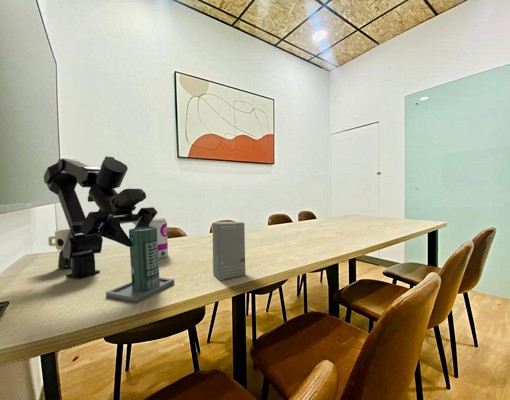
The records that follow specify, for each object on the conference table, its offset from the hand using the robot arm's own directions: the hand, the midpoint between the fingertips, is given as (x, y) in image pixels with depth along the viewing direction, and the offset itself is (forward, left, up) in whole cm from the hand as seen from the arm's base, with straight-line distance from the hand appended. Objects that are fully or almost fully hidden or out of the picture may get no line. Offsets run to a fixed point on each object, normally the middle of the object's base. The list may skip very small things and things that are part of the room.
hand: (141, 242), depth 59 cm
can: (+1, 0, -12) cm, 12 cm away
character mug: (-42, +7, -12) cm, 44 cm away
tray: (0, 0, -12) cm, 12 cm away
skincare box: (+16, +17, -12) cm, 26 cm away
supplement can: (-22, +27, -12) cm, 37 cm away
